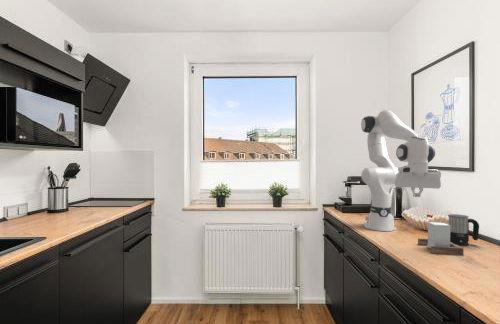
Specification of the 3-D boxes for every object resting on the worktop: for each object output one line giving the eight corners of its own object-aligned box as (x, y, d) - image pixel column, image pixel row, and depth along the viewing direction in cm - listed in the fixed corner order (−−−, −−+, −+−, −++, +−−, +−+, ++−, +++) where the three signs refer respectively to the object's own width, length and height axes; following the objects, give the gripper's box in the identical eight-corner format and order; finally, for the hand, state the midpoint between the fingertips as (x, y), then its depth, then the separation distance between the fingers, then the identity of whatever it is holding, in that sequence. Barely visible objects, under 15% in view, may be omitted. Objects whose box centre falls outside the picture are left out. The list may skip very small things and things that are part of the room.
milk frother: (454, 245, 160) (455, 216, 160) (435, 238, 176) (436, 211, 176) (482, 246, 160) (482, 217, 160) (460, 238, 176) (461, 212, 176)
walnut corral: (417, 244, 161) (418, 238, 161) (445, 245, 160) (445, 239, 160) (432, 253, 145) (432, 247, 145) (463, 254, 144) (463, 248, 144)
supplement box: (450, 251, 149) (451, 225, 148) (433, 251, 149) (434, 224, 149) (442, 247, 156) (443, 222, 156) (427, 246, 157) (427, 221, 157)
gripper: (438, 169, 155) (437, 197, 155) (394, 168, 160) (393, 195, 160) (443, 170, 149) (442, 198, 149) (397, 168, 154) (396, 196, 154)
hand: (416, 196), depth 155 cm, fingers closed
